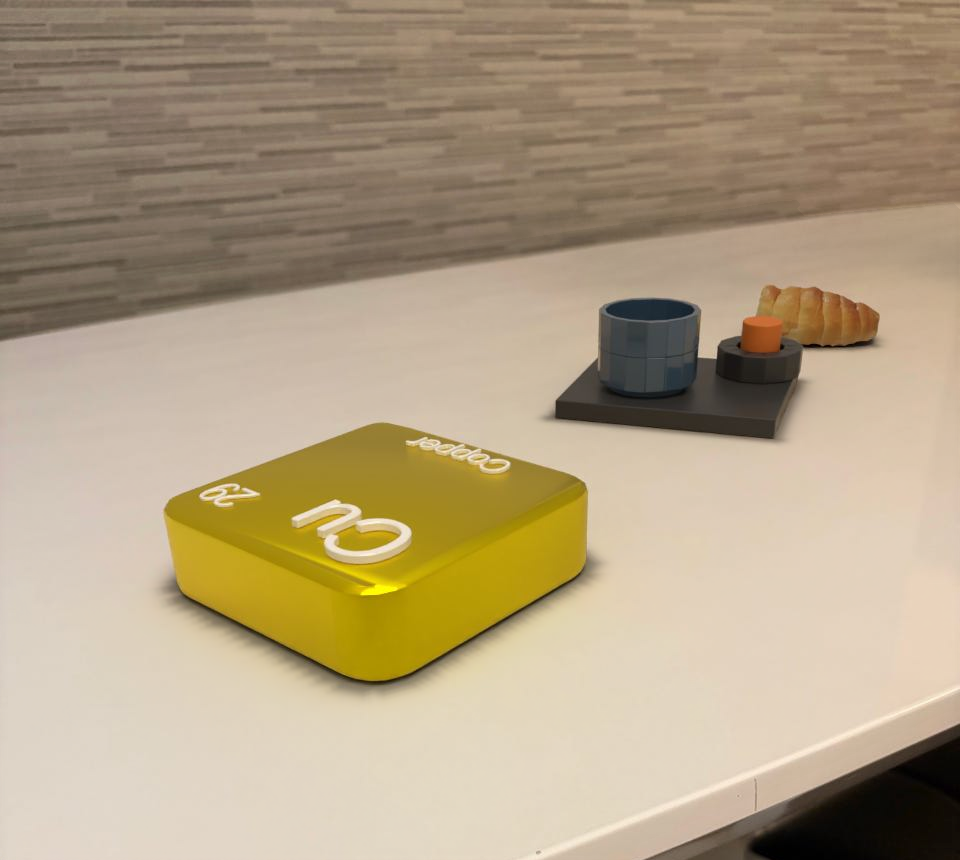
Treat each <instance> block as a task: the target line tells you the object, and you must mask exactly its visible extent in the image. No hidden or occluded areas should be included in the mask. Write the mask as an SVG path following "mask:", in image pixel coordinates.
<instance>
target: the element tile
mask: <svg viewBox="0 0 960 860" xmlns="http://www.w3.org/2000/svg"><path fill="white" fill-rule="evenodd" d="M588 503H589V490H588V487H587V484H586V482H584V481H583V480H582V479H580V478H578V477H577V476H575V475H572V474H570V473H568V472H564V471H561V470H557V469H554V468H550V467H547V466H543V465H540V464H536V463H533V462H530V461H527V460H523V459H519V458H515V457H512V456H509V455H505V454H502V453H499V452H495V451H492V450H488V449H484V448H481V447H477V446H475V445H471V444H468V443H464V442H460V441H457V440H454V439H450V438H447V437H443V436H439V435H436V434H432V433H429V432H425V431H422V430H419V429H415V428H412V427H408V426H404V425H400V424H395V423H390V422H373V423H370V424H366V425H364V426H361V427H359V428H355V429H353V430H350V431H348V432H344V433H342V434H339V435H336V436H334V437H331V438H328V439H326V440H323V441H321V442H317V443H315V444H312V445H309V446H306V447H304V448H301V449H298V450H295V451H293V452H289V453H288V454H285V455H282V456H279V457H277V458H274V459H271V460H268V461H266V462H263V463H260V464H258V465H255V466H253V467H250V468H247V469H244V470H241V471H238V472H236V473H233V474H229V475H228V476H225V477H222V478H220V479H217V480H214V481H212V482H209V483H206V484H204V485H201V486H198V487H195V488H192V489H190V490H187V491H184V492H182V493H180V494H178V495H175V496H172V497H171V498H169V499H168V501H167V503H166V504H165V506H164V508H163V512H162V513H163V519H164V523H165V528H166V533H167V540H168V544H169V548H170V554H171V560H172V564H173V570H174V576H175V579H176V584H177V585H178V587H179V589H180V591H181V592H182V594H184V595H185V596H187V597H188V598H190V599H191V600H194V601H195V602H198V603H199V604H202V605H203V606H206V607H207V608H210V609H211V610H214V611H215V612H217V613H219V614H221V615H223V616H225V617H227V618H229V619H231V620H233V621H235V622H237V623H239V624H241V625H243V626H245V627H247V628H249V629H251V630H253V631H255V632H257V633H259V634H261V635H263V636H265V637H267V638H269V639H271V640H273V641H275V642H276V643H279V644H281V645H282V646H284V647H286V648H289V649H291V650H293V651H295V652H297V653H299V654H300V655H303V656H304V657H307V658H309V659H311V660H313V661H315V662H317V663H319V664H321V665H322V666H325V667H327V668H329V669H331V670H333V671H334V672H336V673H339V674H341V675H343V676H346V677H349V678H351V679H353V680H359V681H365V682H384V681H385V682H387V681H390V680H394V679H398V678H401V677H405V676H407V675H410V674H412V673H414V672H415V671H417V670H419V669H421V668H422V667H424V666H426V665H427V664H429V663H431V662H432V661H434V660H436V659H438V658H439V657H442V656H443V655H444V654H447V653H448V652H450V651H452V650H454V648H457V647H459V646H460V645H461V644H464V643H465V642H467V641H469V640H470V639H472V638H473V637H475V636H477V635H479V634H480V633H482V632H483V631H486V630H487V629H489V628H490V627H492V626H494V625H496V624H497V623H499V622H501V621H503V620H504V619H505V618H508V617H510V616H511V615H513V614H514V613H516V612H518V611H519V610H522V609H523V608H525V607H527V606H528V605H529V604H531V603H533V602H536V601H537V600H539V599H541V597H543V596H546V595H547V594H549V593H550V592H552V591H553V590H556V589H557V588H559V587H560V586H562V585H563V584H565V583H567V582H569V581H570V580H572V579H574V578H575V577H577V576H578V575H579V574H580V573H581V572H582V570H583V568H584V566H585V565H586V562H587V551H588V512H589V511H588V507H589V506H588V505H589V504H588Z"/></svg>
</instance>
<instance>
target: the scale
mask: <svg viewBox="0 0 960 860" xmlns="http://www.w3.org/2000/svg"><path fill="white" fill-rule="evenodd" d="M741 336H742V335H735V336H732V337H728V338H725V339H722V340H720V342H719V343H718V345H717V348H716V349H717V351H716V358H711V357H710V358H709V357H700V356H698V363H697V376H696V379H695V381H694V382H693V384H692V385H690V386H688V387H686V388H685V389H684V390H683V391H682V392H680V393H677V394H674V395H670V396H664V397H653V398H642V397H631V396H625V395H621V394H618V393H615V392H613V391H611V390H609V389H608V387H607V386H606V385H604V384H602V383H600V381H599V379H598V357H596V359H595V360H594V361H593V362H592V363H591V364H590V365H589V366H587V368H585V370H583V372H581V374H580V375H579V376H578V377H577V378H576V379H575V380H574V381H573V382H572V383H571V384H570V385H569V386H568V387H567V388H566V389H565V390H564V391H563V392H562V393H561V394H560V395H559V396H558V397H557V398H556V399H555V401H554V402H555V406H554V407H555V414H554V415H555V416H554V417H555V418H556V419H566V420H576V421H577V420H578V421H587V422H598V423H608V424H609V423H610V424H618V425H619V424H620V425H628V426H629V425H630V426H641V427H649V428H663V429H670V430H683V431H691V432H692V431H693V432H701V433H702V432H704V433H713V434H714V433H715V434H724V435H734V436H735V435H737V436H745V437H746V436H747V437H757V438H766V439H774V438H775V436H776V434H777V432H778V430H779V429H778V428H779V426H780V424H781V421H782V419H783V417H784V414H785V413H786V409H787V408H788V405H789V402H790V400H791V397H792V396H793V393H794V391H795V388H796V386H797V383H798V381H799V376H800V373H801V370H802V363H803V362H802V361H803V355H804V354H803V353H804V344H800V343H798V342H797V341H795V340H791V339H787V338H783V337H781V344H780V351H777V352H766V353H761V352H749V351H745V350H741V349H740V347H741Z"/></svg>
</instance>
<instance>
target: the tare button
mask: <svg viewBox="0 0 960 860" xmlns="http://www.w3.org/2000/svg"><path fill="white" fill-rule="evenodd" d="M782 326H783V321H782V320H781V319H778V318H775V317H769V316H756V315H755V316H749V317H746V318H744V319H743V321H742V327H741V335H740V336H741V347H740V349H741V350H745V351H749V352H761V353H766V352H777V351H780V344H781V335H782Z"/></svg>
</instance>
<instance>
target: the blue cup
mask: <svg viewBox="0 0 960 860" xmlns="http://www.w3.org/2000/svg"><path fill="white" fill-rule="evenodd" d="M701 321H702V309H701V308H700V306H699V305H698V304H695V303H693V302H690V301H686V300H682V299H676V298H668V297H633V298H624V299H617V300H614V301H611V302H607V303H604V304H603V305H602V306H601V307H600V308H599V309H598V334H597V336H598V339H597V343H598V345H597V358H598V379H599V381H600V383H602V384H604V385H606V386H607V387H608V389H609V390H611V391H613V392H615V393H618V394H621V395H625V396H631V397H642V398H653V397H664V396H670V395H674V394H677V393H680V392H682V391H683V390H684V389H685V388H686V387H688V386H690V385H692V384H693V382H694V381H695V379H696V376H697V363H698V357H699V350H700V349H699V347H700V336H701V335H700V334H701Z"/></svg>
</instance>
